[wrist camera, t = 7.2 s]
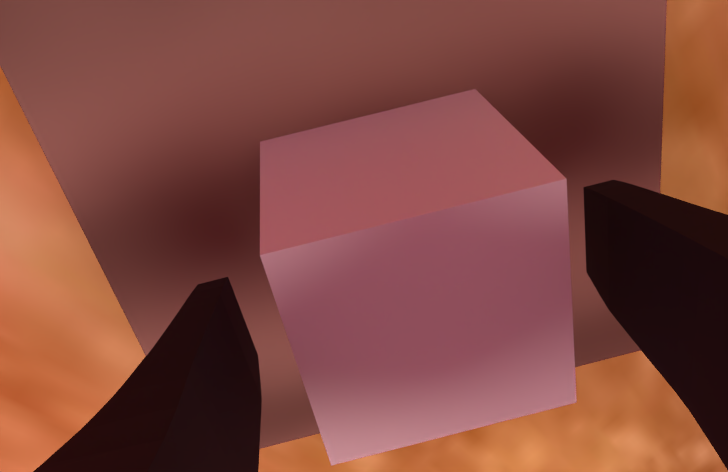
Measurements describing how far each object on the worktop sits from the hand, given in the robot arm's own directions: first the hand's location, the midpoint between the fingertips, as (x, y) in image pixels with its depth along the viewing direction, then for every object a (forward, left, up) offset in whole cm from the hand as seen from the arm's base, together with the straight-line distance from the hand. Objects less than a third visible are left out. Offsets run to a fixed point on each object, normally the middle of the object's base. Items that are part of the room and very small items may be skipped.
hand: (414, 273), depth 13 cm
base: (0, 0, -6) cm, 6 cm away
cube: (0, 0, -3) cm, 3 cm away
